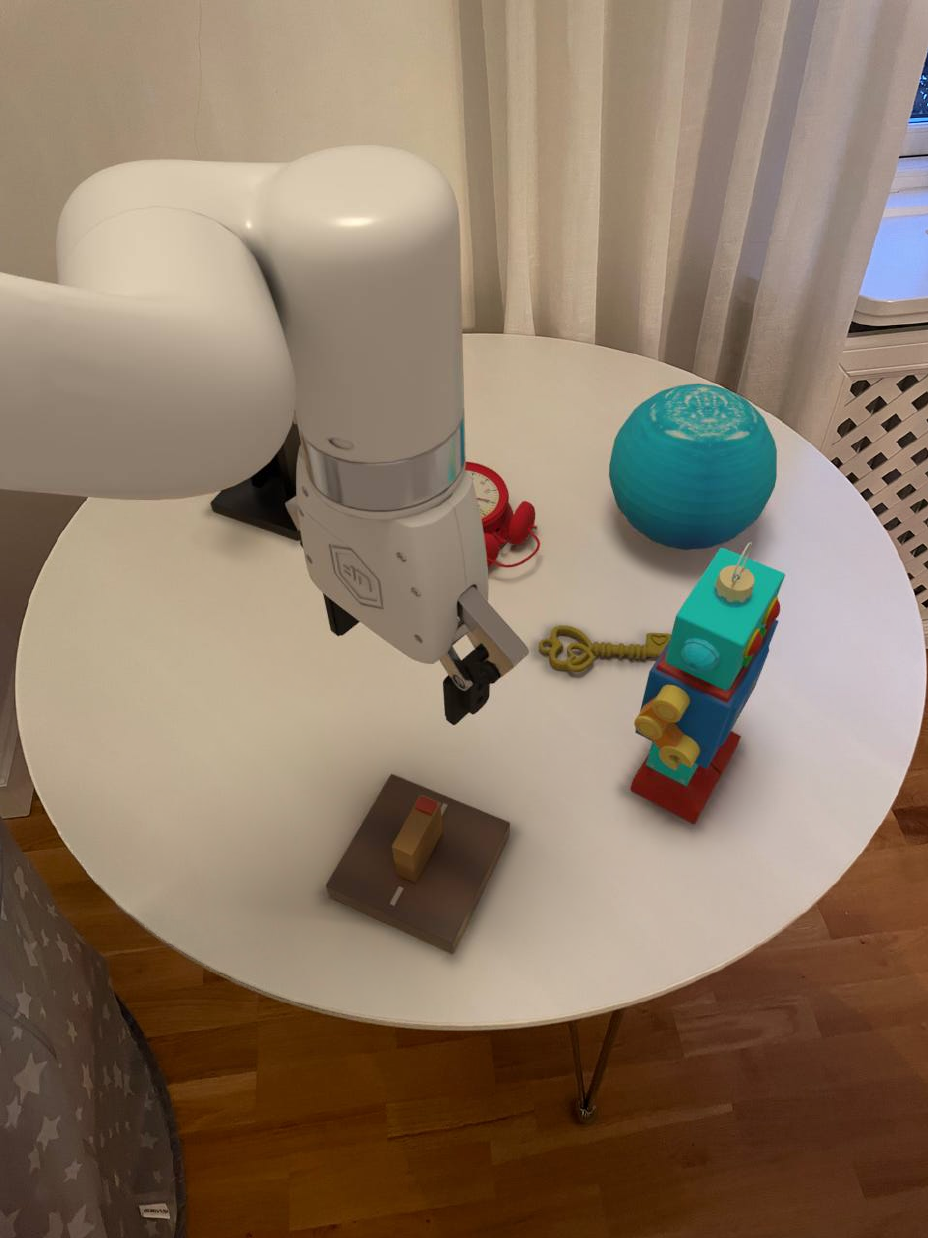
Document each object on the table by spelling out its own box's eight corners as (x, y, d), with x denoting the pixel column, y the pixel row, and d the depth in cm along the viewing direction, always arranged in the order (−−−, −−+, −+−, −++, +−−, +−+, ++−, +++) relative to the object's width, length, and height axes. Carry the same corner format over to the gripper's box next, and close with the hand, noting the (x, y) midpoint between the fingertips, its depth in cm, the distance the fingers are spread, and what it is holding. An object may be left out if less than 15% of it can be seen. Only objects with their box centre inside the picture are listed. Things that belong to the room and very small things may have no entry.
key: (676, 628, 81) (679, 675, 78) (674, 637, 82) (677, 684, 79) (540, 621, 82) (537, 666, 79) (539, 630, 83) (537, 675, 80)
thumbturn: (415, 883, 66) (411, 854, 62) (395, 874, 66) (390, 844, 63) (443, 831, 69) (440, 800, 65) (423, 823, 69) (420, 792, 65)
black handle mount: (297, 540, 91) (277, 446, 82) (212, 511, 93) (183, 416, 84) (358, 465, 97) (345, 370, 88) (276, 440, 100) (256, 345, 91)
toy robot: (685, 842, 70) (763, 635, 51) (612, 803, 72) (661, 590, 53) (744, 732, 76) (834, 510, 57) (676, 699, 78) (740, 474, 59)
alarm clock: (455, 439, 94) (563, 486, 85) (465, 491, 98) (569, 541, 89) (375, 488, 90) (479, 543, 80) (389, 540, 94) (490, 598, 84)
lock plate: (453, 955, 65) (452, 943, 63) (328, 897, 68) (324, 884, 66) (509, 834, 71) (510, 821, 69) (393, 786, 73) (391, 772, 72)
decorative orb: (603, 580, 87) (622, 456, 75) (598, 472, 96) (614, 347, 85) (767, 586, 86) (811, 461, 74) (745, 476, 96) (782, 351, 84)
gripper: (204, 402, 45) (268, 624, 58) (467, 579, 38) (472, 789, 51) (319, 334, 49) (355, 559, 62) (582, 484, 41) (559, 703, 54)
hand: (408, 662), depth 56 cm, fingers open, 9 cm apart
